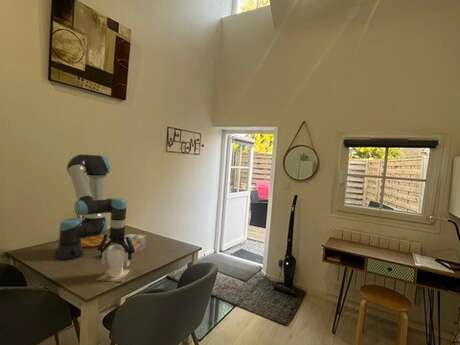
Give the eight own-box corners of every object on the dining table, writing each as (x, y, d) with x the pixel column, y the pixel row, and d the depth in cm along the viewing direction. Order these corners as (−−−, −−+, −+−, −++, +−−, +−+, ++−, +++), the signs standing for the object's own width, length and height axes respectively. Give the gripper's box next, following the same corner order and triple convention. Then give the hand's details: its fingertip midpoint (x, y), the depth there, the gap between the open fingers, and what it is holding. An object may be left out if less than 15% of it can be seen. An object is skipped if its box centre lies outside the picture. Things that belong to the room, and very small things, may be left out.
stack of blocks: (138, 246, 184) (139, 230, 184) (145, 248, 182) (146, 231, 181) (116, 256, 164) (117, 238, 164) (123, 258, 162) (124, 239, 161)
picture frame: (95, 280, 132) (95, 278, 132) (109, 268, 146) (109, 267, 146) (121, 282, 132) (121, 281, 132) (132, 270, 146) (132, 269, 146)
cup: (129, 270, 145) (130, 245, 144) (121, 279, 134) (123, 251, 133) (110, 269, 144) (111, 243, 144) (101, 278, 134) (103, 250, 133)
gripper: (91, 226, 134) (89, 265, 135) (137, 230, 134) (134, 269, 135) (99, 222, 142) (97, 259, 143) (142, 226, 141) (140, 263, 142)
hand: (115, 264), depth 139 cm, fingers open, 13 cm apart
